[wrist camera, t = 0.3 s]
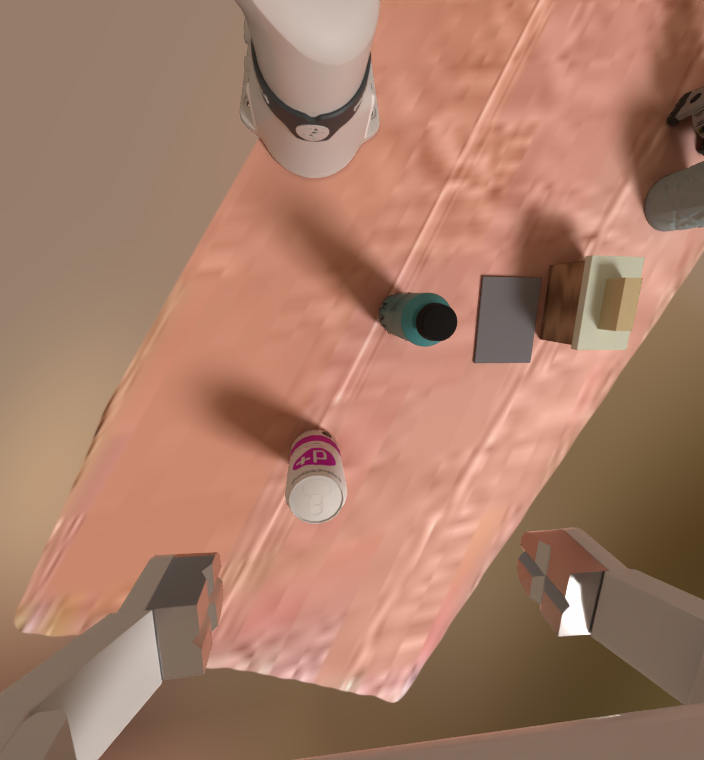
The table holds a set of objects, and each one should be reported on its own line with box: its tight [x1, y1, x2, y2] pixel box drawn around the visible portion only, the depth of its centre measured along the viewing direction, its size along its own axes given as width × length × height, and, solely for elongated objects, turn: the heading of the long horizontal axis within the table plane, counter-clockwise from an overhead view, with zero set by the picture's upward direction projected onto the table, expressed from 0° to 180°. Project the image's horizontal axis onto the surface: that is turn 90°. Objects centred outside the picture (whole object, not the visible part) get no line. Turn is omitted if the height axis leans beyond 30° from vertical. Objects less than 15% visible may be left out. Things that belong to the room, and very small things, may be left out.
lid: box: [571, 256, 645, 350], centre depth 48 cm, size 13×8×4 cm, turn 179°
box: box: [540, 261, 585, 345], centre depth 54 cm, size 12×7×8 cm, turn 179°
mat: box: [474, 277, 542, 363], centre depth 57 cm, size 14×10×1 cm
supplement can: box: [285, 430, 347, 524], centre depth 52 cm, size 8×8×15 cm
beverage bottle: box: [379, 292, 457, 347], centre depth 46 cm, size 6×7×20 cm
